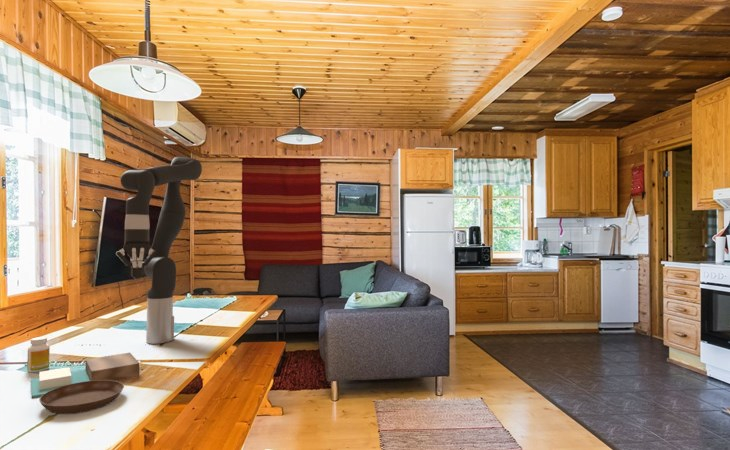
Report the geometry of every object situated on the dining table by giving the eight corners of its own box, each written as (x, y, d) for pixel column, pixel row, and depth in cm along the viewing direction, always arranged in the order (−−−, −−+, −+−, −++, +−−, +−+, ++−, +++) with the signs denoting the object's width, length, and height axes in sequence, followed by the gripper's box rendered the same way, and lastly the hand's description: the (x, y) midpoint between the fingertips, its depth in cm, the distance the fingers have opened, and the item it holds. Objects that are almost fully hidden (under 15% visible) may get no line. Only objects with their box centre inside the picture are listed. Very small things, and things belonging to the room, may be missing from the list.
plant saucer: (108, 385, 118) (108, 374, 118) (135, 401, 107) (135, 389, 107) (30, 405, 104) (30, 392, 105) (51, 426, 93) (51, 412, 93)
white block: (39, 371, 119) (39, 380, 119) (39, 380, 112) (39, 389, 112) (69, 367, 123) (69, 375, 123) (71, 375, 116) (71, 384, 116)
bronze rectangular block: (129, 364, 135) (130, 352, 135) (139, 376, 124) (139, 363, 125) (85, 372, 128) (85, 359, 128) (91, 385, 117) (91, 371, 117)
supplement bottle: (53, 368, 132) (54, 337, 132) (35, 373, 127) (35, 341, 127) (41, 366, 133) (42, 335, 134) (23, 371, 128) (23, 339, 128)
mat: (84, 371, 128) (85, 369, 128) (91, 386, 116) (91, 384, 116) (30, 381, 120) (30, 378, 120) (31, 398, 108) (32, 395, 108)
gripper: (155, 228, 151) (154, 276, 151) (113, 227, 143) (112, 278, 143) (160, 228, 146) (160, 278, 145) (117, 227, 137) (116, 280, 137)
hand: (136, 278), depth 144 cm, fingers closed
